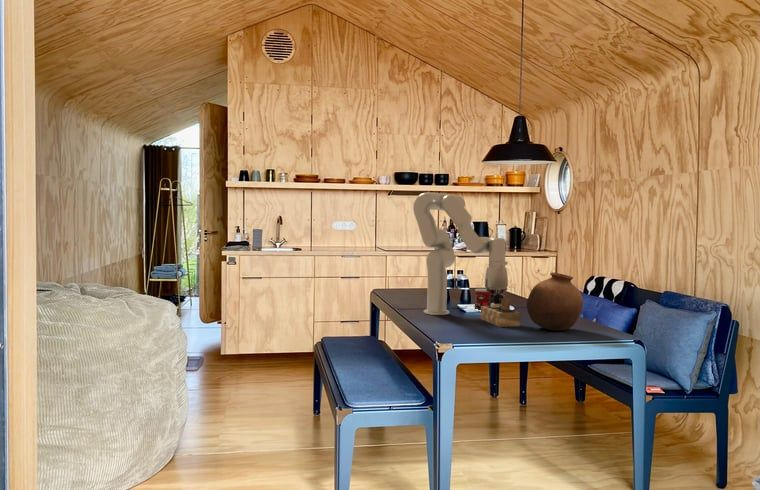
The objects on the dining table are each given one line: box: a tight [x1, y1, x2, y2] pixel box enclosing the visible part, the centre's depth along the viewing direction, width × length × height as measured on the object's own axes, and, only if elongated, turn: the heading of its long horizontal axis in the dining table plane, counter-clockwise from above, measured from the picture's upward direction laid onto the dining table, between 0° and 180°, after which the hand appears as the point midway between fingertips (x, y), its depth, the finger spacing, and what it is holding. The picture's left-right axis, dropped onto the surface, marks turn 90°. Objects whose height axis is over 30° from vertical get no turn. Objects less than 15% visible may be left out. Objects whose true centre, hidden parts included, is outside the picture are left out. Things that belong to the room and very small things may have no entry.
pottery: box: [526, 271, 584, 332], centre depth 266 cm, size 23×23×25 cm
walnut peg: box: [500, 297, 511, 311], centre depth 277 cm, size 4×4×7 cm
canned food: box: [474, 288, 492, 310], centre depth 312 cm, size 8×8×11 cm
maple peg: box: [491, 302, 501, 308], centre depth 286 cm, size 4×4×7 cm
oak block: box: [480, 305, 521, 328], centre depth 281 cm, size 19×10×7 cm, turn 17°
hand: (496, 303), depth 286 cm, fingers closed
